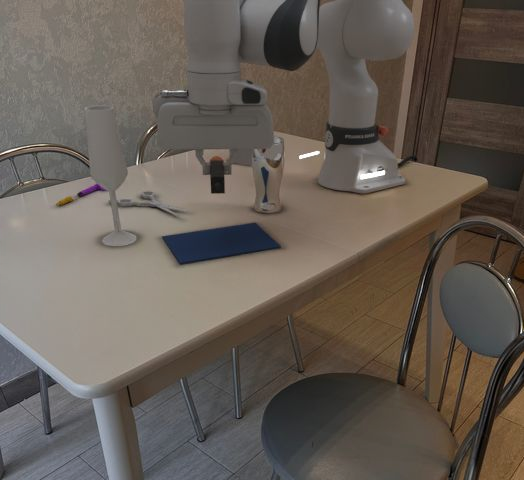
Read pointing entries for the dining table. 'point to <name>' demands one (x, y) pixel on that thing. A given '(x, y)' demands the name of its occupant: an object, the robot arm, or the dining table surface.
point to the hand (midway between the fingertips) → (217, 173)
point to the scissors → (153, 203)
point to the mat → (219, 243)
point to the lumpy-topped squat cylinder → (243, 157)
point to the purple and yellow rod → (80, 194)
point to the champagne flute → (107, 163)
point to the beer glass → (268, 176)
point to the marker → (217, 175)
